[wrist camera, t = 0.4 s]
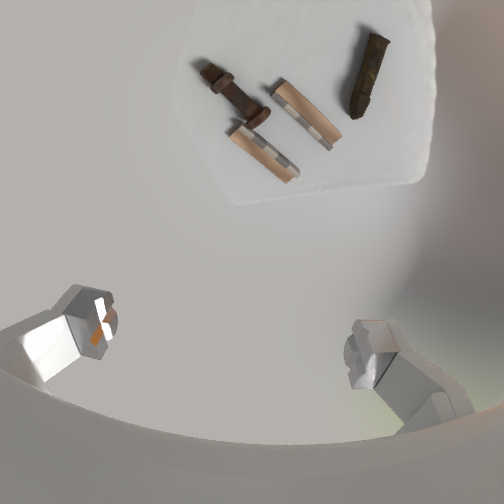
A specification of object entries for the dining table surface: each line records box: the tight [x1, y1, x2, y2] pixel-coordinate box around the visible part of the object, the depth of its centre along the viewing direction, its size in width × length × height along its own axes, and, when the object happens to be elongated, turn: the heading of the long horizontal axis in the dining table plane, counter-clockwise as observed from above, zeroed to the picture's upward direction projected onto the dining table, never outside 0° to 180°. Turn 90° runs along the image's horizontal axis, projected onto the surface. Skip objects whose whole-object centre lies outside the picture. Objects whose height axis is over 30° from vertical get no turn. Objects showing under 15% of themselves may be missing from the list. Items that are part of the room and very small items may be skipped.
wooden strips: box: [229, 80, 342, 184], centre depth 51 cm, size 16×16×2 cm
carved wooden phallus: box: [350, 33, 390, 120], centre depth 40 cm, size 19×4×5 cm, turn 167°
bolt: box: [200, 63, 271, 130], centre depth 45 cm, size 6×5×15 cm
